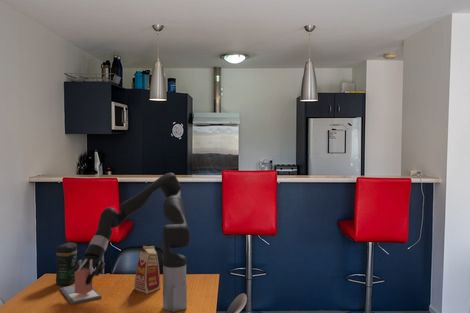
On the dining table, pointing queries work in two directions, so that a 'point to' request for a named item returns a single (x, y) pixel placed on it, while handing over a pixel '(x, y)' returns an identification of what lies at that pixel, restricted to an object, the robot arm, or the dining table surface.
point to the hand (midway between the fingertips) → (80, 283)
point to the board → (79, 295)
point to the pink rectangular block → (82, 281)
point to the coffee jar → (66, 263)
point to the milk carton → (147, 271)
